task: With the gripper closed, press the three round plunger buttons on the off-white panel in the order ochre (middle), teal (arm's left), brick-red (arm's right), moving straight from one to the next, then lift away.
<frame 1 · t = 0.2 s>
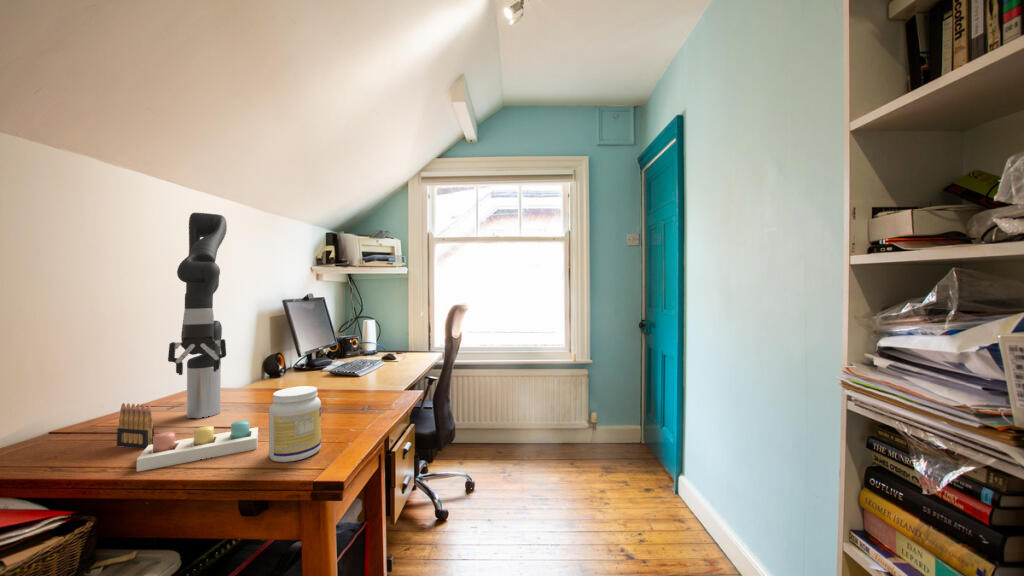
hand: (198, 373, 120), 17 cm above the table, tool pointing down, fingers open, 8 cm apart
ammunition clip: (135, 447, 105), on the table
panel: (203, 452, 101), on the table
ochre button: (203, 436, 101), point 4 cm above the table, slide at 0.0 cm
teal button: (240, 430, 105), point 4 cm above the table, slide at 0.0 cm
supplement tub: (295, 454, 100), on the table
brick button: (164, 442, 96), point 4 cm above the table, slide at 0.0 cm
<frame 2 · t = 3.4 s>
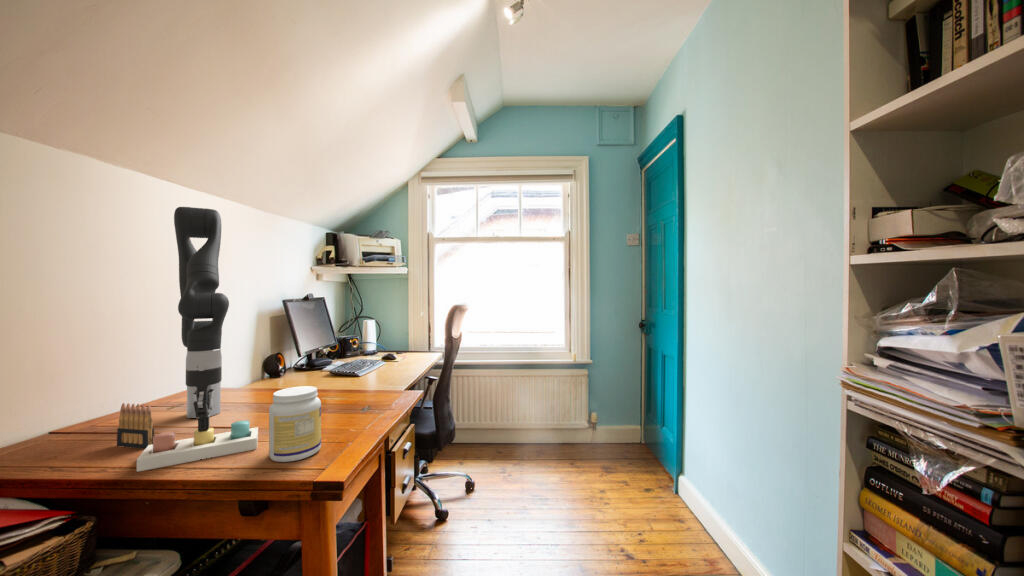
hand: (203, 430, 101), 6 cm above the table, tool pointing down, fingers closed
ochre button: (203, 438, 101), point 4 cm above the table, slide at 0.5 cm, touching gripper
everything else where it was.
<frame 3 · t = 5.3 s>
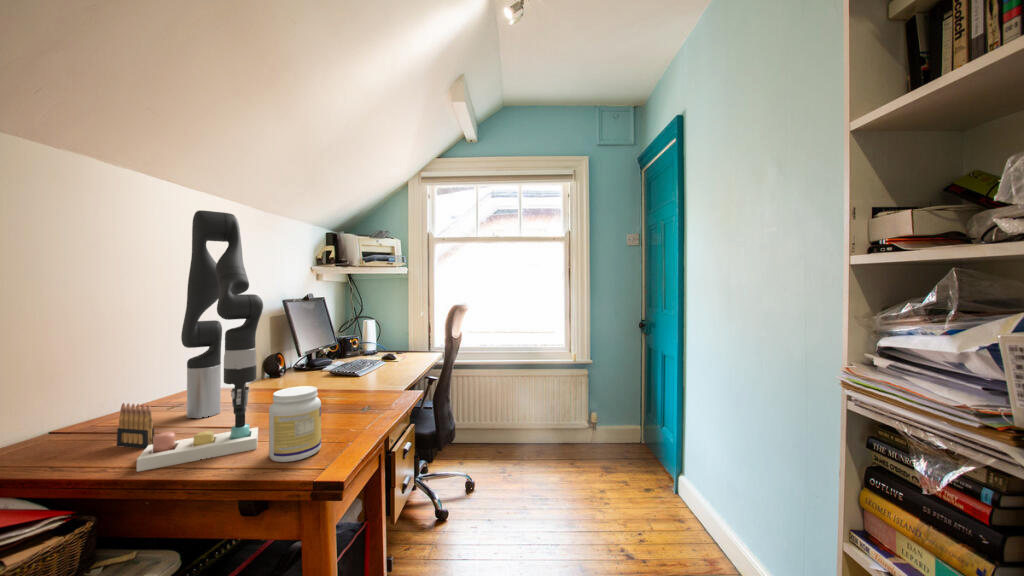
hand: (240, 426, 105), 6 cm above the table, tool pointing down, fingers closed
ochre button: (203, 441, 101), point 3 cm above the table, slide at 1.4 cm
teal button: (240, 433, 105), point 3 cm above the table, slide at 0.9 cm, touching gripper
everything else where it was.
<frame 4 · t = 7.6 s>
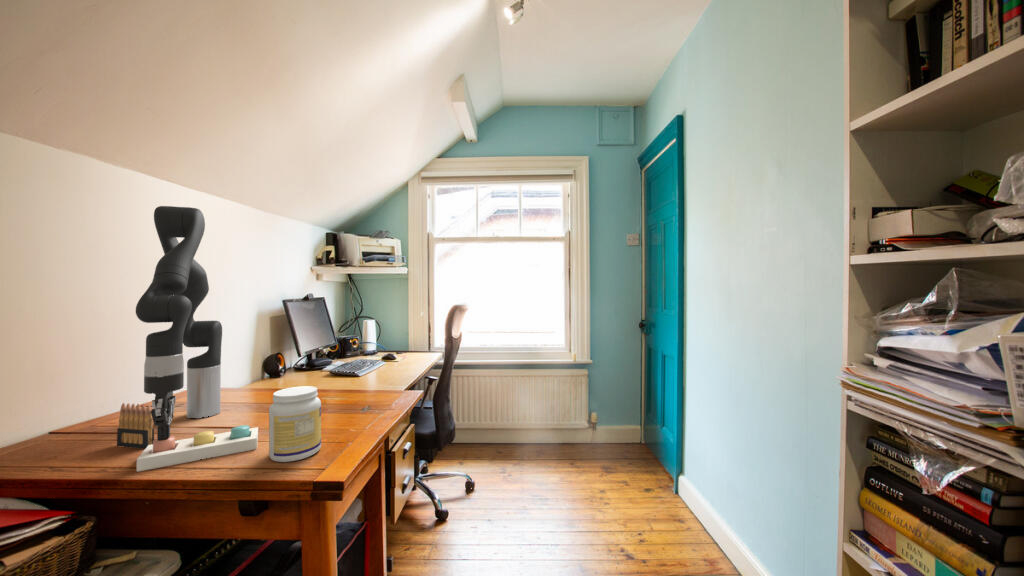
hand: (163, 439, 96), 5 cm above the table, tool pointing down, fingers closed
teal button: (240, 435, 105), point 3 cm above the table, slide at 1.4 cm
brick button: (164, 447, 96), point 3 cm above the table, slide at 1.1 cm, touching gripper
everything else where it was.
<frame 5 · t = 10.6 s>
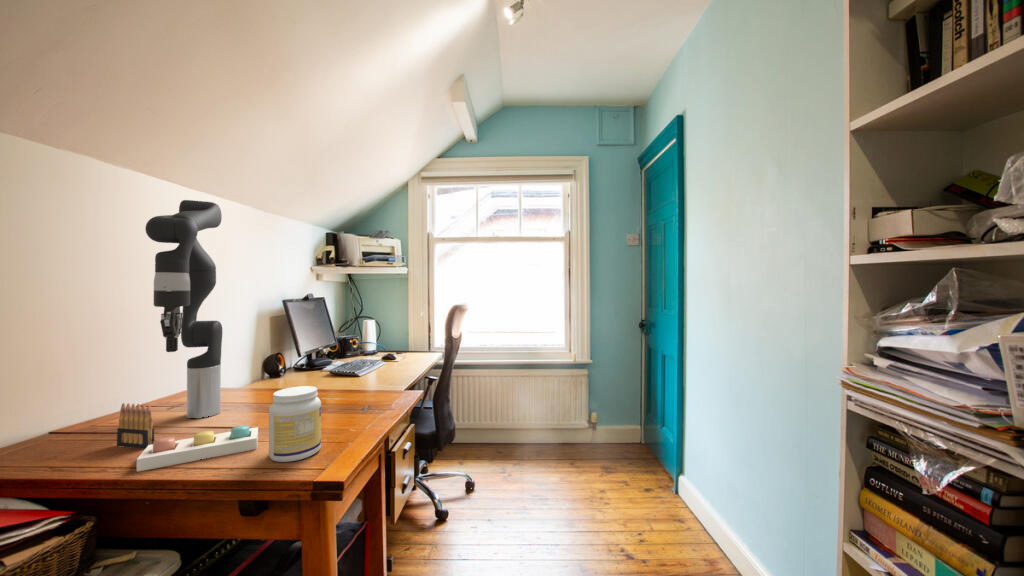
hand: (171, 351, 103), 27 cm above the table, tool pointing down, fingers closed
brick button: (164, 448, 96), point 3 cm above the table, slide at 1.4 cm
everything else where it was.
at the end: ochre button slide at 1.4 cm; teal button slide at 1.4 cm; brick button slide at 1.4 cm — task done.
